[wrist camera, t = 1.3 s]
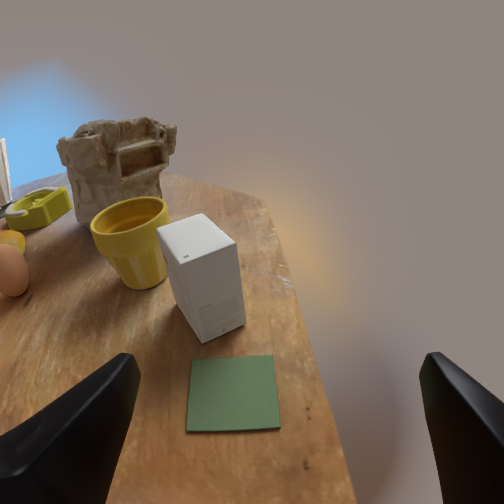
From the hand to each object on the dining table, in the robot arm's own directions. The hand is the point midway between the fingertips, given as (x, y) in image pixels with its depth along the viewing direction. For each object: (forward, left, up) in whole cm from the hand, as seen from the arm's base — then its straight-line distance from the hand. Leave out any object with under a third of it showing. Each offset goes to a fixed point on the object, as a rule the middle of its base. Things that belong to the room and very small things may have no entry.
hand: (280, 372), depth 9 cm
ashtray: (+33, +71, -18) cm, 81 cm away
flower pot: (+21, +25, -18) cm, 37 cm away
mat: (+8, +7, -18) cm, 20 cm away
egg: (+10, +45, -18) cm, 50 cm away
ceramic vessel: (+37, +40, -18) cm, 57 cm away
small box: (+17, +13, -18) cm, 28 cm away
